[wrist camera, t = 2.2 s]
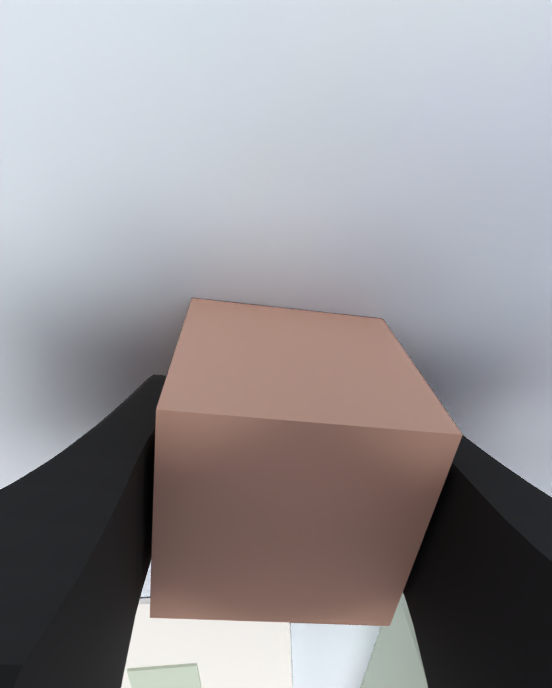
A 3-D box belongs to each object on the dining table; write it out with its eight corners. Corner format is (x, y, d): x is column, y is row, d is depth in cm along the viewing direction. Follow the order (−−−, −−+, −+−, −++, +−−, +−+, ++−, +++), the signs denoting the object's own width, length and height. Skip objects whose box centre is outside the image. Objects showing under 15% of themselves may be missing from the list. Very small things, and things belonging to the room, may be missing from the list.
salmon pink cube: (382, 319, 11) (462, 435, 7) (344, 466, 13) (389, 626, 9) (191, 297, 10) (155, 409, 6) (182, 454, 12) (149, 618, 8)
